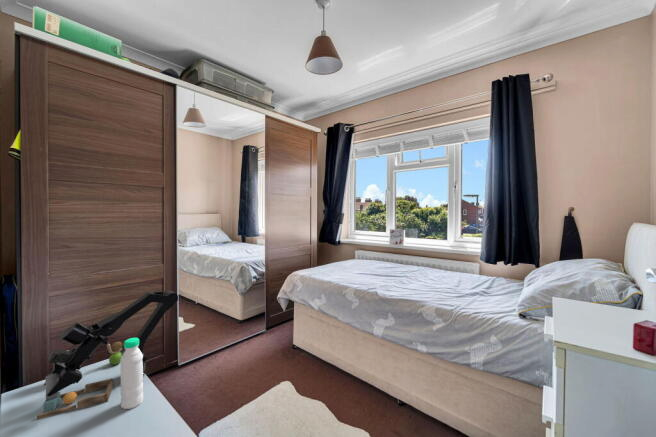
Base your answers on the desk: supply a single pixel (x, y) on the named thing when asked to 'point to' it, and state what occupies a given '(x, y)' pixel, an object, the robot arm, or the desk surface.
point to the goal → (85, 401)
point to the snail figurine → (115, 353)
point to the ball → (69, 397)
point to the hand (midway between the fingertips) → (46, 390)
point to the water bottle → (131, 374)
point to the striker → (55, 398)
